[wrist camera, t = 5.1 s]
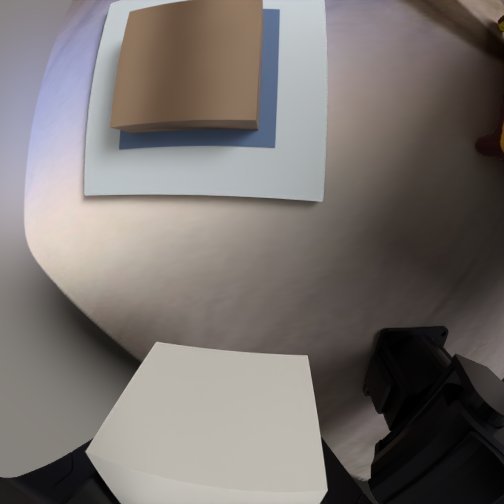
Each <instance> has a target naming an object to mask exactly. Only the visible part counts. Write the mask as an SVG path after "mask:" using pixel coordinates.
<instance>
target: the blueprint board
mask: <svg viewBox="0 0 504 504" xmlns="http://www.w3.org/2000/svg"><path fill="white" fill-rule="evenodd" d="M326 139H327V37H326V17H325V1H324V0H121V1H118V2H114V3H111V5H110V9H109V12H108V15H107V19H106V22H105V26H104V30H103V34H102V38H101V42H100V46H99V51H98V55H97V60H96V65H95V71H94V76H93V82H92V89H91V96H90V103H89V111H88V121H87V132H86V146H85V171H84V196H89V195H137V194H166V195H215V196H241V197H261V198H278V199H293V200H306V201H319V202H323V195H324V180H325V162H326Z"/></svg>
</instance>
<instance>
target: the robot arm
mask: <svg viewBox="0 0 504 504" xmlns="http://www.w3.org/2000/svg"><path fill="white" fill-rule="evenodd" d="M443 331H444V332H443ZM442 332H443V333H442ZM386 334H388V336H387V337H385V335H386ZM447 335H448V329H447V328H446V327H444V326H440V327H421V328H390V329H384V330H383V331H382V332H381V333H380V336H379V340H378V343H377V347H376V350H375V354H373V356H372V357H371V360H370V364H369V367H368V370H367V373H366V376H365V379H364V380H365V385H364V388H363V392H364V395H365V396H371V399H372V401H373V404H374V406H375V409H376V412H377V413H378V414H383V415H384V418H385V420H386V423H387V426H388V428H389V430H390V431H391V432H390V433H389V434H388V435H387V436H386V437H385V438H384V439H382V440H380V441H379V442H378V443H376V444H375V453H374V459H373V462H372V464H371V478H370V479H369V480H368V485H369V488H370V491H371V494H372V495H373V497H374V499H375V500H376V502H377V503H378V504H504V383H503V382H502V381H501V380H500V379H499V378H498V377H497V376H496V375H495V374H494V373H493V372H492V371H491V370H490V369H489V368H487V367H486V366H483V365H481V364H479V363H476V362H474V361H472V360H469V359H467V358H465V357H462V356H460V355H458V354H455V355H454V356H453V358H452V357H451V355H450V354H449V353H448V352H447V351H446V350H445V348H444V347H443V346H444V343H445V341H446V338H447ZM93 439H94V438H93ZM93 439H91V440H90V441H88V442H87V443H85V444H83V445H82V446H80V447H78V448H77V449H75V450H74V451H73V452H70V453H69V454H67V455H65V456H63V457H62V458H60V459H58V460H56V461H54V462H52V463H50V464H48V465H46V466H44V467H41V468H39V469H36V470H34V471H31V472H29V473H26V474H24V475H21V476H18V477H13V478H2V477H0V504H121V503H120V502H119V500H118V499H117V498H116V496H115V495H114V494H113V492H112V491H111V490H110V488H109V487H108V486H107V484H106V483H105V481H104V480H103V479H102V477H101V476H100V474H99V473H98V471H97V470H96V468H95V467H94V465H93V463H92V462H91V460H90V459H89V457H88V455H87V454H86V450H87V448H88V447H89V445H90V443H91V442H92V440H93ZM321 443H322V450H323V457H324V465H325V473H326V481H327V489H328V491H327V492H326V494H325V496H324V497H323V499H322V501H321V502H320V504H373V503H372V502H371V501H370V500H369V499H368V497H367V496H366V495H365V494H364V493H363V491H362V490H361V489H360V487H359V486H358V485H357V483H356V482H355V481H354V480H353V478H352V477H351V476H350V474H349V473H348V472H347V470H346V469H345V468H344V467H343V465H342V464H341V463H340V461H339V460H338V459H337V457H336V456H335V455H334V453H333V452H332V451H331V449H330V448H329V446H328V445H327V444H326V442H325V441H324V440H323V438H322V437H321Z"/></svg>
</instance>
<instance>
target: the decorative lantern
mask: <svg viewBox="0 0 504 504" xmlns="http://www.w3.org/2000/svg"><path fill="white" fill-rule="evenodd" d="M497 25H498V27H499V29H500V30H501V31H502V32H504V15H503V16H502V17H501V18H500V19H499V20H498V24H497ZM475 147H476V150H477V152H478V153H480V154H482V155H485V156H490V157H494V158H498V159H501V160H502V161H504V97H503V102H502V108H501V113H500V117H499V121H498V124H497V127H496V128H495V130H494V132H492V133H491V134H489V135H486V136H484V137H482V138H479V139H478V140H477V141H476V144H475Z"/></svg>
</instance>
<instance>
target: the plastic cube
mask: <svg viewBox="0 0 504 504" xmlns="http://www.w3.org/2000/svg"><path fill="white" fill-rule="evenodd" d="M86 454H87V455H88V457H89V459H90V460H91V462H92V463H93V465H94V467H95V468H96V470H97V471H98V473H99V474H100V476H101V477H102V479H103V480H104V481H105V483H106V484H107V486H108V487H109V488H110V490H111V491H112V492H113V494H114V495H115V496H116V498H117V499H118V500H119V502H120V503H121V504H320V502H321V501H322V499H323V497H324V496H325V494H326V492H327V491H328V489H327V481H326V473H325V465H324V457H323V450H322V443H321V436H320V429H319V422H318V416H317V409H316V403H315V397H314V390H313V384H312V378H311V372H310V366H309V361H308V355H282V354H263V353H249V352H236V351H225V350H215V349H206V348H198V347H189V346H182V345H175V344H168V343H161V342H156V343H155V344H154V346H153V347H152V349H151V350H150V352H149V353H148V355H147V356H146V358H145V359H144V361H143V362H142V364H141V365H140V367H139V368H138V370H137V371H136V373H135V374H134V376H133V378H132V379H131V381H130V382H129V384H128V385H127V387H126V388H125V390H124V391H123V393H122V394H121V396H120V398H119V399H118V401H117V402H116V404H115V405H114V407H113V409H112V410H111V412H110V413H109V415H108V416H107V418H106V419H105V421H104V423H103V424H102V426H101V428H100V429H99V431H98V432H97V434H96V435H95V437H94V439H93V440H92V442H91V443H90V445H89V447H88V448H87V450H86Z"/></svg>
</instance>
